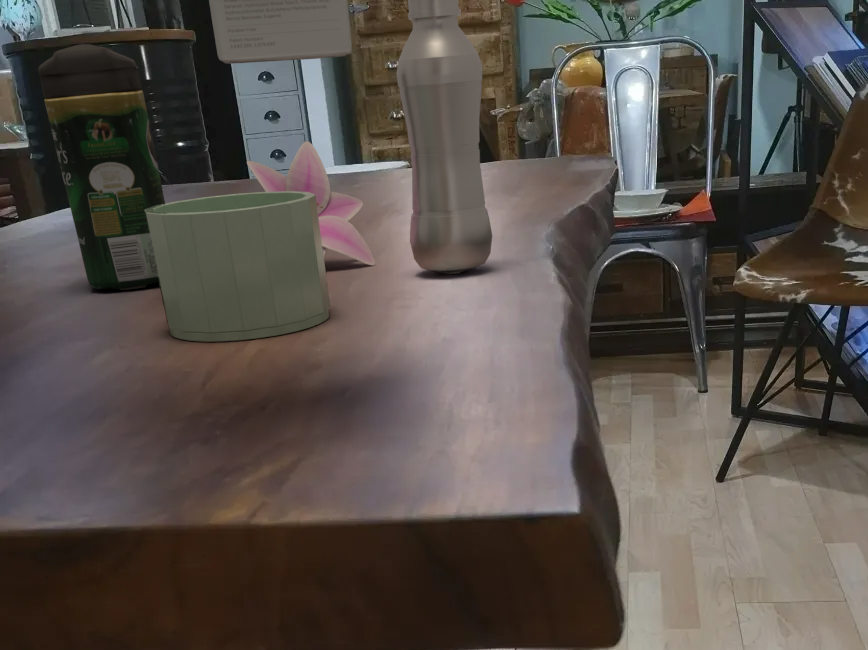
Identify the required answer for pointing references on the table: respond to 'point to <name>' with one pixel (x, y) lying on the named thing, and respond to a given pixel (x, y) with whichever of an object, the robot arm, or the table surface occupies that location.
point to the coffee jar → (105, 161)
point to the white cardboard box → (280, 29)
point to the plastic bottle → (444, 140)
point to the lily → (319, 201)
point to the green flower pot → (240, 265)
